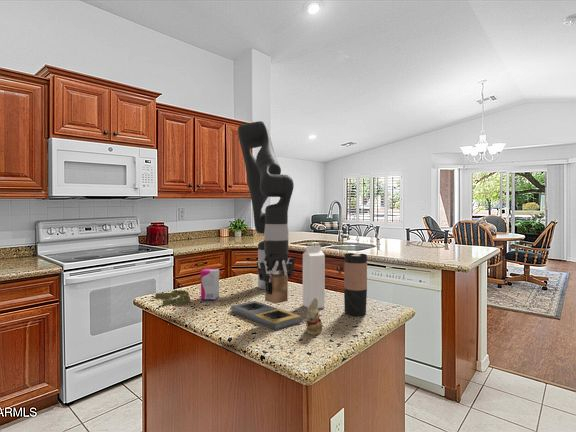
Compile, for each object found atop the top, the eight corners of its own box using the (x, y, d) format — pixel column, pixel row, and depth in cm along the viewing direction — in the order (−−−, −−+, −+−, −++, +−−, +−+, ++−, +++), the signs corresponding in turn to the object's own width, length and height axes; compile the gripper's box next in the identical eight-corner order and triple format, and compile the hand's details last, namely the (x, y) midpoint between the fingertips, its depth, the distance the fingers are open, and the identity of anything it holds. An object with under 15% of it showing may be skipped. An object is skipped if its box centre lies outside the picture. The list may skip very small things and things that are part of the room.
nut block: (277, 297, 114) (277, 273, 114) (287, 301, 110) (287, 275, 110) (265, 300, 111) (265, 275, 110) (275, 303, 107) (275, 277, 107)
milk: (324, 307, 126) (325, 246, 126) (309, 309, 124) (310, 247, 123) (316, 303, 132) (317, 244, 131) (302, 305, 129) (302, 245, 129)
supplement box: (219, 297, 141) (219, 268, 140) (215, 300, 135) (215, 271, 135) (205, 296, 141) (205, 268, 141) (200, 300, 135) (200, 270, 135)
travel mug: (353, 317, 115) (353, 256, 114) (339, 311, 121) (339, 253, 121) (371, 314, 118) (372, 255, 118) (357, 308, 125) (357, 252, 124)
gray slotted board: (254, 306, 128) (254, 300, 128) (300, 322, 110) (300, 315, 110) (231, 311, 121) (231, 305, 121) (275, 330, 103) (275, 322, 103)
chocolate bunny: (298, 332, 101) (298, 298, 101) (314, 325, 107) (314, 293, 107) (313, 337, 98) (313, 301, 97) (329, 330, 103) (330, 296, 103)
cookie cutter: (153, 297, 141) (153, 292, 141) (183, 293, 148) (183, 288, 148) (164, 308, 126) (164, 302, 126) (197, 303, 132) (197, 298, 132)
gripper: (285, 236, 117) (285, 287, 118) (250, 238, 108) (250, 294, 108) (301, 238, 112) (301, 291, 112) (265, 240, 102) (265, 298, 103)
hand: (276, 292), depth 110 cm, fingers closed on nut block, 5 cm apart
